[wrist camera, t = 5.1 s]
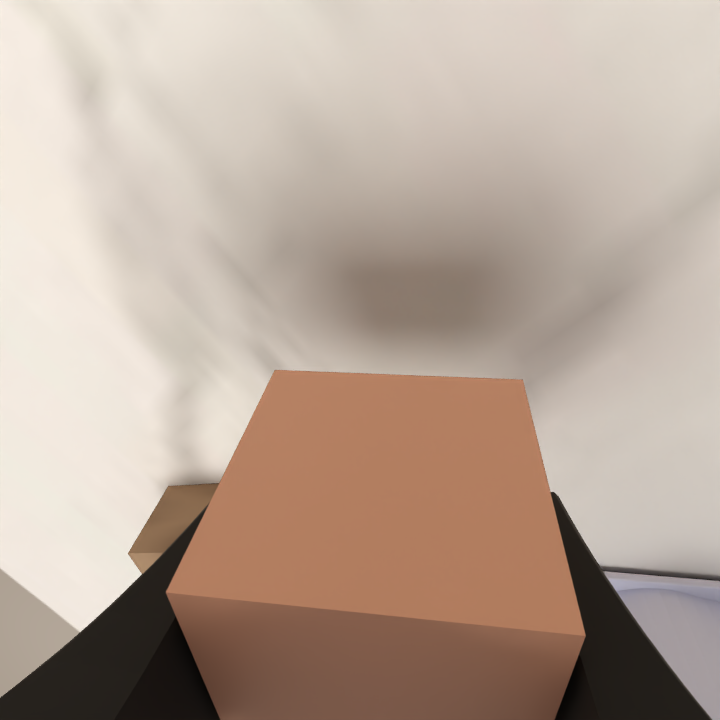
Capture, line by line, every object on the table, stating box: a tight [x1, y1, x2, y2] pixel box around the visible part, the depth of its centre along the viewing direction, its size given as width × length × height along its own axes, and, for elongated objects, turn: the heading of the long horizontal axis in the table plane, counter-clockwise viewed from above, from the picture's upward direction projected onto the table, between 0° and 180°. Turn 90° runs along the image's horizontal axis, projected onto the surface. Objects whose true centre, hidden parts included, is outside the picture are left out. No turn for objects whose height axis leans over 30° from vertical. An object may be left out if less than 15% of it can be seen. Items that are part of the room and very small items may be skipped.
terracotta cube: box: [166, 370, 586, 720], centre depth 9 cm, size 5×5×5 cm
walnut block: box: [128, 483, 219, 574], centre depth 23 cm, size 8×8×4 cm
